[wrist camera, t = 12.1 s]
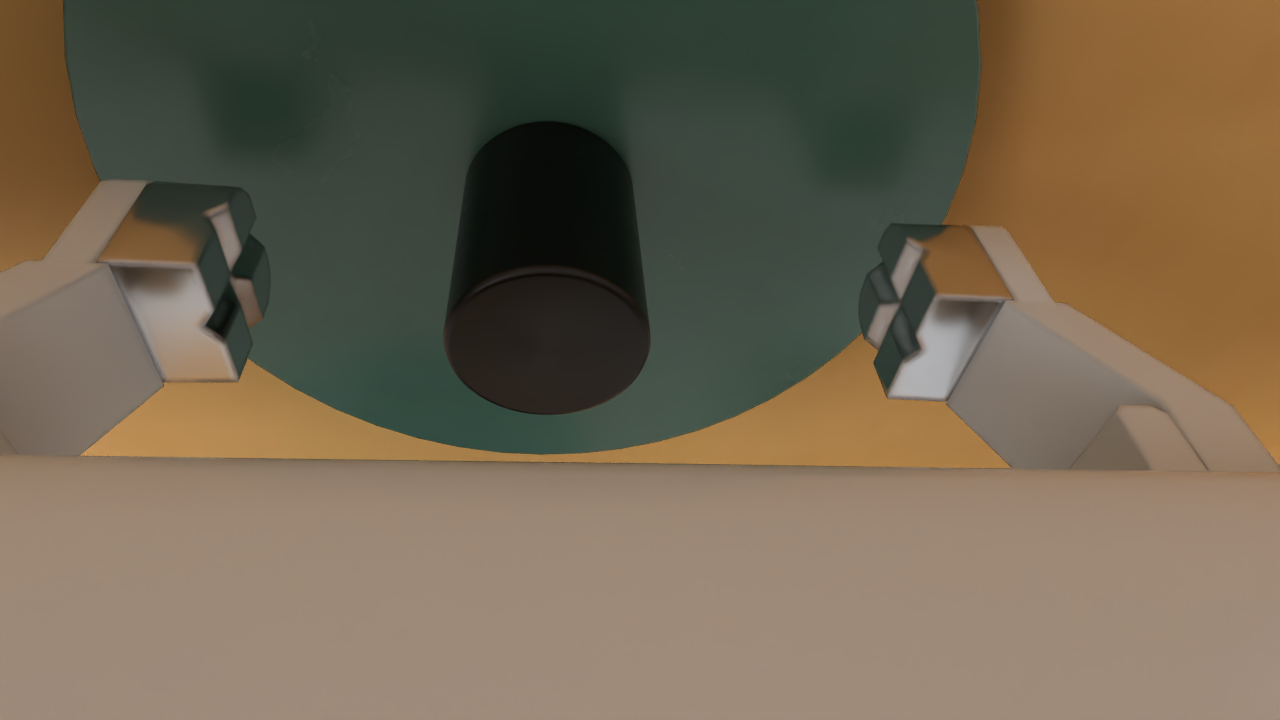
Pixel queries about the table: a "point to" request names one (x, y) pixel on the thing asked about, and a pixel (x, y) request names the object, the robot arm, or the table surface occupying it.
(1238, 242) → the table surface
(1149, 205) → the table surface
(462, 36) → the dark green lid
